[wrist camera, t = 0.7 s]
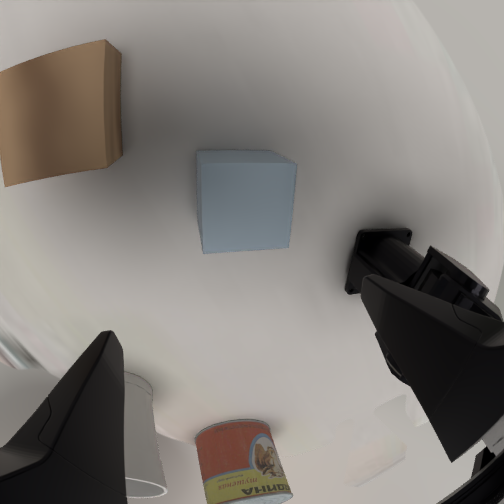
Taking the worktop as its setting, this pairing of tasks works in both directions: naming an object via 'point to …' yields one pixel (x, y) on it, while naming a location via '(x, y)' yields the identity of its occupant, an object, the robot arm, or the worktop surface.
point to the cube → (244, 200)
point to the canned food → (241, 464)
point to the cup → (141, 442)
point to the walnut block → (61, 113)
